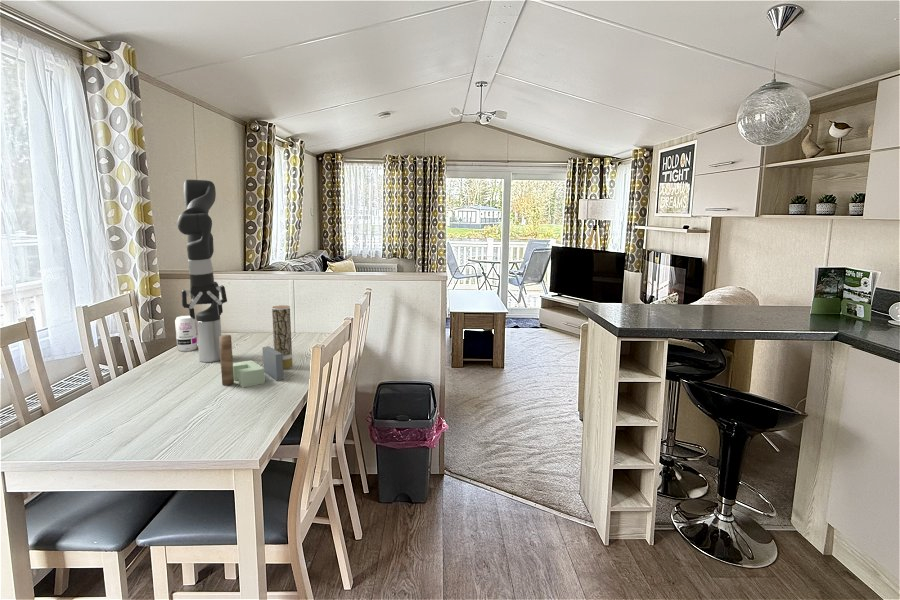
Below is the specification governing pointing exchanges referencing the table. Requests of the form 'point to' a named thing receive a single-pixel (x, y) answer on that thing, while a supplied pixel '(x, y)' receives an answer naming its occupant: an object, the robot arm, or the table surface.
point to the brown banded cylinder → (226, 360)
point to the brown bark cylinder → (282, 333)
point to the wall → (273, 363)
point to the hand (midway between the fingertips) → (206, 316)
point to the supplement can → (186, 333)
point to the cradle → (248, 373)
